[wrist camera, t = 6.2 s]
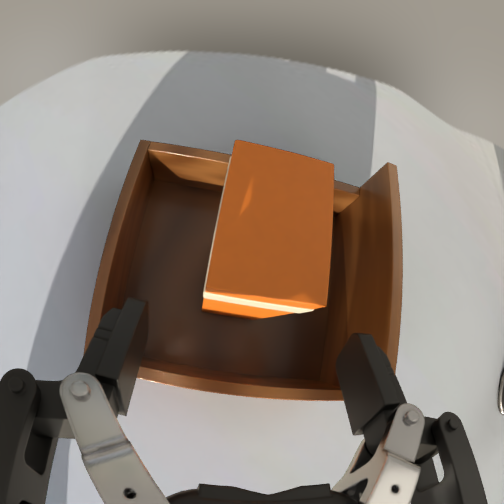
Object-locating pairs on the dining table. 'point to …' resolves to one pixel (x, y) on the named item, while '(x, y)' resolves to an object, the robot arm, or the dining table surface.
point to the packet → (271, 235)
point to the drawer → (232, 328)
